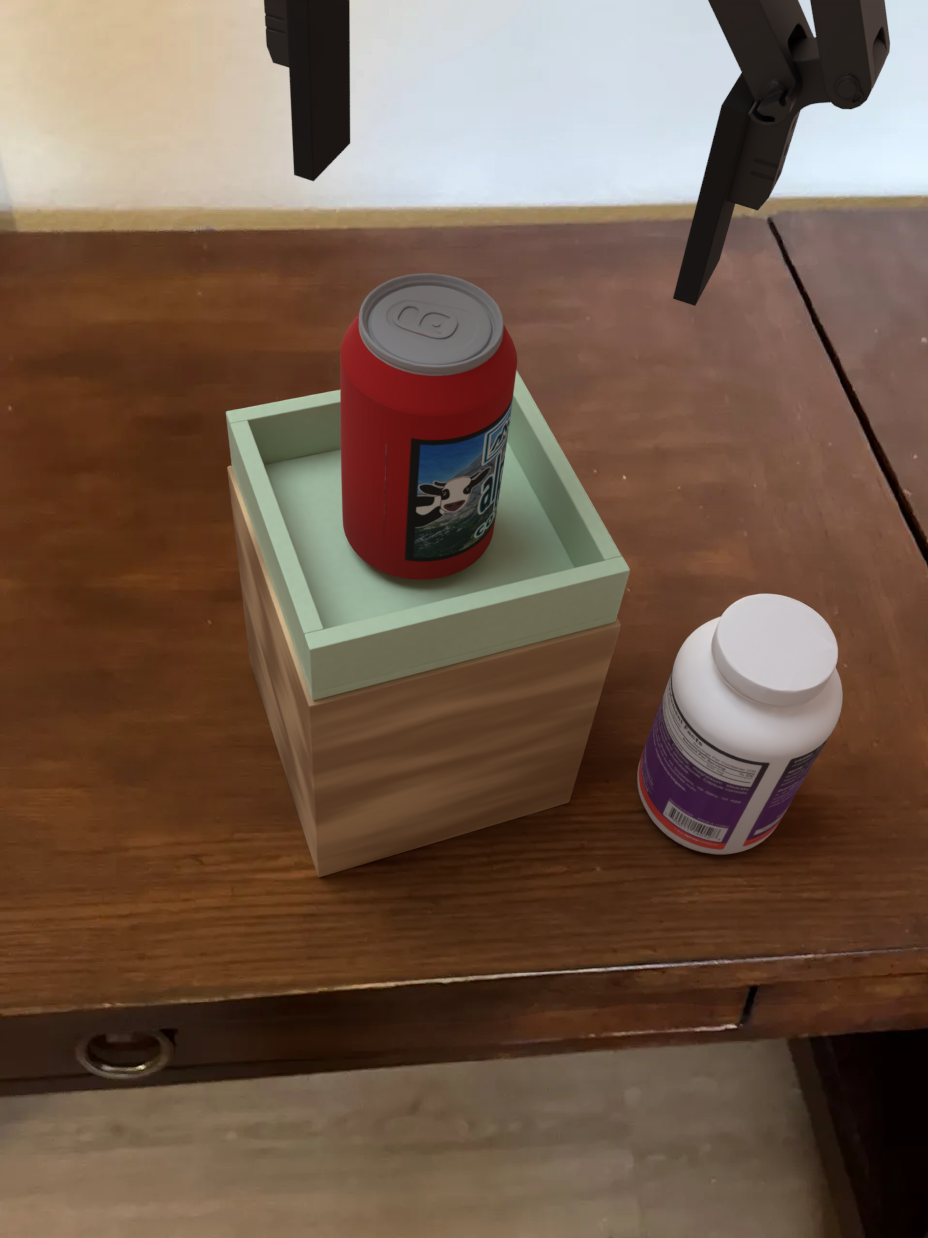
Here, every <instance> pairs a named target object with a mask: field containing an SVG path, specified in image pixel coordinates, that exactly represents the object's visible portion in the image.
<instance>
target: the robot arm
mask: <svg viewBox="0 0 928 1238" xmlns="http://www.w3.org/2000/svg"><path fill="white" fill-rule="evenodd" d="M707 2H708V3H709V6H710V8H711V10H712V12H713V14H714V17H715V18H716V21H717V22H718V25H719V27H720V29H721V31H722V33H723V36H724V38H725V40H726V42H727V44H728V47H729V48H730V51H731V52H732V55H733V57H734V59H735V61H736V63H737V65H738V68H739V70H740V74H739V76H738V78H737V79H736V81H735V83H734V84H733V86H732V87H731V89H730V90H729V92H728V94H727V95H726V97H725V99H724V101H723V102H722V104H721V106H720V109H719V113H718V118H717V122H716V124H715V125H716V126H715V129H714V134H713V138H712V141H711V145H710V149H709V153H708V154H709V155H708V157H707V162H706V166H705V169H704V173H703V178H702V180H701V185H700V189H699V194H698V197H697V201H696V205H695V209H694V213H693V217H692V221H691V225H690V229H689V233H688V237H687V240H686V245H685V247H684V248H685V249H684V253H683V256H682V260H681V264H680V270H679V273H678V276H677V281H676V284H675V288H674V292H673V297H672V299H673V300H674V301H675V300H676V301H677V302H678V301H679V302H682V303H685V304H688V305H691V306H695V307H696V305H697V304H698V302H699V300H700V298H701V296H702V294H703V292H704V291H705V288H707V285H708V283H709V281H710V279H711V278H712V275H713V273H714V272H715V270H716V268H717V266H718V264H719V262H720V260H721V258H722V257H721V256H722V253H723V251H724V250H723V249H724V246H725V242H726V238H727V235H728V232H729V228H730V225H731V220H732V217H733V213H734V210H735V207H736V205H738V206H741V207H745V208H748V209H751V210H754V211H759V210H760V209H761V207H762V206H763V205H764V204H765V203H766V202H767V200H768V199H769V198H770V196H771V194H772V193H773V190H774V188H775V187H776V185H777V183H778V181H779V179H780V177H781V175H782V173H783V170H784V166H785V162H786V159H787V155H788V153H789V149H790V147H791V143H792V139H793V136H794V133H795V130H796V127H797V123H798V120H799V117H800V114H801V111H802V110H803V109H804V108H806V107H809V106H810V105H816V104H824V103H825V104H827V103H831V105H832V106H834V107H836V108H839V109H841V110H854V109H856V108H859V107H861V106H862V105H863V104H864V103H866V101H868V99H869V97H870V95H871V92H872V91H873V89H874V87H875V86H876V85H875V84H876V83H877V81H878V79H879V76H880V74H881V72H882V69H883V68H884V66H885V63H886V60H887V58H888V56H889V54H890V51H891V50H890V49H891V40H890V32H889V23H888V15H887V8H886V0H809V3H810V9H811V14H812V20H813V27H814V32H815V33H813V31H812V28H811V26H810V24H809V21H808V20H807V17H806V15H805V12H804V9H803V8H802V5H801V3H800V1H799V0H707ZM350 4H351V1H350V0H263V8H264V9H263V11H264V15H265V16H264V25H265V44H266V49H267V51H268V54H269V56H270V59H271V61H272V63H273V64H276V65H278V66H283V67H286V68H288V73H289V74H288V75H289V96H290V99H289V100H290V119H291V140H292V142H291V143H292V161H293V175H294V176H296V177H298V178H301V179H305V180H308V181H312V182H315V181H316V180H317V179H318V178H319V177H320V176H321V175H322V173H323V172H324V171H325V170H327V169H328V167H329V166H330V165H331V164H332V163H333V162H334V161H335V160H336V159H337V158H338V157H339V156H340V155H341V154H342V153H343V152H344V151H345V150H346V149H347V147H348V146H350V144H351V23H350V22H351V21H350V20H351V19H350V18H351V11H350V10H351V9H350V6H351V5H350ZM814 34H815V36H814Z"/></svg>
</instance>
